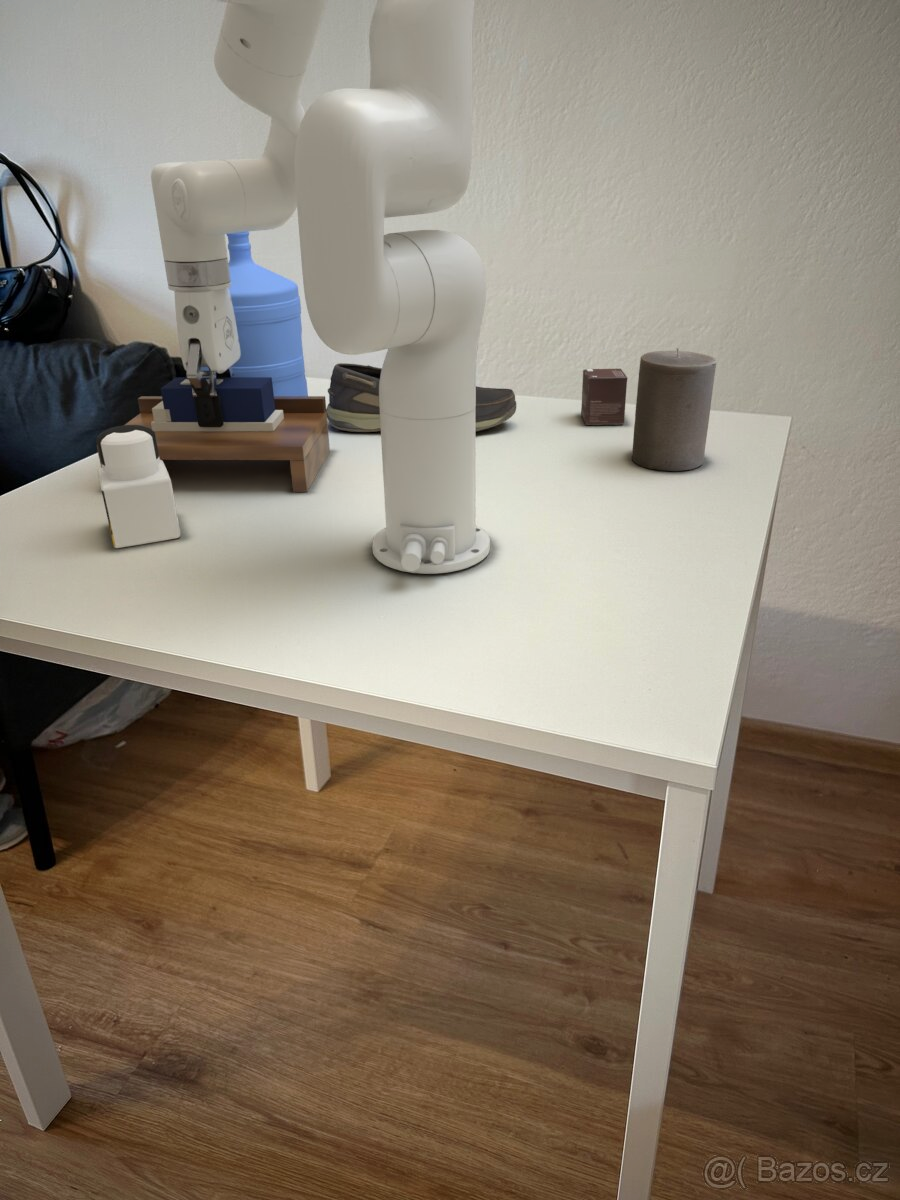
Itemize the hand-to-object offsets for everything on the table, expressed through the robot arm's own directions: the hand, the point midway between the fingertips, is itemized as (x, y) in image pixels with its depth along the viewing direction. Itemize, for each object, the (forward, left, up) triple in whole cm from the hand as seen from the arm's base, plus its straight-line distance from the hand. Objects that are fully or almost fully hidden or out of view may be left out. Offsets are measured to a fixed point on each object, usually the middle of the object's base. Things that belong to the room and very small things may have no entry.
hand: (218, 417), depth 114 cm
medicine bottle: (-22, +3, -7) cm, 23 cm away
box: (+23, -53, -7) cm, 58 cm away
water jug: (+19, 0, -7) cm, 20 cm away
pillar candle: (+4, -60, -7) cm, 61 cm away
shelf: (-1, 0, -7) cm, 7 cm away
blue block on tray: (0, 0, -1) cm, 1 cm away
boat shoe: (+19, -25, -7) cm, 32 cm away
